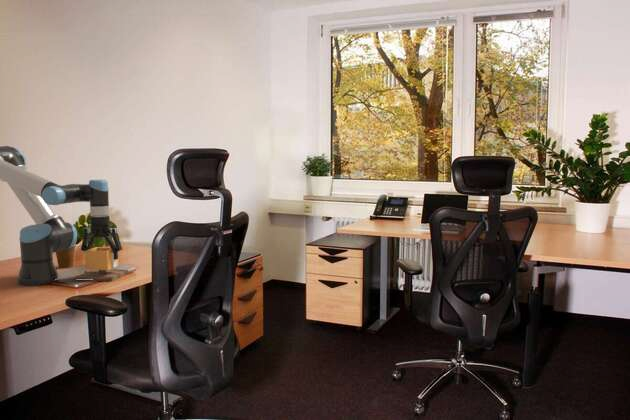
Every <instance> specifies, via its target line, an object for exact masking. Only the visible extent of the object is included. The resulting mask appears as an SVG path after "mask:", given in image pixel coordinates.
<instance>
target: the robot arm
mask: <svg viewBox="0 0 630 420" xmlns="http://www.w3.org/2000/svg"><path fill="white" fill-rule="evenodd" d="M26 164H27V161H26V156H25V154H24V153H23V152H22V151H21V150H20V149H19V148H17V147H15V146H9V145H4V146H0V181H1V182H5V183H7V184H8V186H9V187H10V189H11V190H12V191H13V194H14V195H15V197H16V198H17V199H18V201H19V202H20V204H21V205H22V207H24V209H25V211H26V212H27V213H28V214H29V216H30V218H31V220H33V222H34V223H35V224H31V225H26V226H24V227H22V228H21V229H20V231H19V244H20V247H19V248H20V249H19V250H20V260H21V261H20V262H21V263H20V264H21V265H20V269H19V273H18V275H17V285H21V286H40V285H48V284H53V283H55V282H56V281H54V280H55V279H57V278H58V279H59V273H58V271H57V268H56V265H55V263H54V259H53V254H54V253H56V252H58V251H63V250H66V249H68V248H71V247H72V246H73V245H74V244H75V243H76V242H77V240H78V231H77V228H76V227H75V225H73V224H72V223H69V222H67V221H65V220H64V218H63V217H62V216H61V215H58V214H57V215H56V213H55V211H53V210H52V208H51V206H59V205H65V204H73V203H81V202H82V203H83V202H84V203H85V202H88V203H89V207H90V208H89V209H90V210H89V212H90V216H91V217H90V226H91V227H86V228H84V229H83V232H84V234H83V238H82V243H81V246H80V251H83V252H84V251H86V250H89V249H92V248H93V246H94V244H95V242H96V241H97V239H98V238H103V239H104V240H105V241H106V242H107V244H108V247H111V249H112V251H113V252H112V253H111V255H112V269H115V268H116V267H118V266H117V265H116V260H117V259H119V252H120V251H122V250H123V247H122V244H121V240H120V237H119V235H118V228H117V227H113V228H112V227H111V226H110V224H111V221H110V220H111V219H110V216H109V215H110V203H109V191H110V190H109V184H108V180H106V179H90V180H89V181H88V183H87V184H81V183H77V184H76V183H70V184H69V183H67V184H64V185H60V184H57V183H55V182H52V181H50V180H48V179H46V178H44V177H42V176H39V175H37V174H35V173H33V172H31V171H28V170H27V167H26V166H27V165H26ZM91 233H92V234H91ZM110 233H111V234H110ZM90 235H91V237H90Z"/></svg>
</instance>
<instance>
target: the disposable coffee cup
mask: <svg viewBox="0 0 630 420" xmlns="http://www.w3.org/2000/svg"><path fill="white" fill-rule="evenodd" d="M76 245H77V244H76V243H75V244H74V245H73V246H72V247H71V248H68V249H66V250H63V251H58V252H55V255H56V261H57V262H56V263H57V267H58V268H59V269H71V268H73V267H74V261H75V247H76Z"/></svg>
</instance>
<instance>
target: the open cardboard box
mask: <svg viewBox="0 0 630 420" xmlns="http://www.w3.org/2000/svg"><path fill="white" fill-rule="evenodd" d="M83 252H84V269H85V270H87V271H88V270H89V271H91V270H109V269H113V268H112V255H111V253H112V252H113V251H112V249H111V247H110V246H108V247H107V246H106V247H105V246H104V247H103V246H102V247H101V246H96V247H92V248H91V249H89V250H86V251H83ZM119 260H120V259H119V258H118V259H117V260H116V265H117V267H118V266H120V264H119V262H120V261H119Z"/></svg>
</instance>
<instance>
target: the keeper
mask: <svg viewBox="0 0 630 420" xmlns="http://www.w3.org/2000/svg"><path fill="white" fill-rule="evenodd" d="M127 274H129V269H120V268H119V269H115V268H112V269H109V270H89V271H88V270H87V272H84V273H82V274H78V275H77V276H75V279H93V280H95V281H94V282H113V281H114V282H115V280H117V279H119V278H121V277H124V276H126V275H127ZM75 279H74V280H75Z"/></svg>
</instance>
